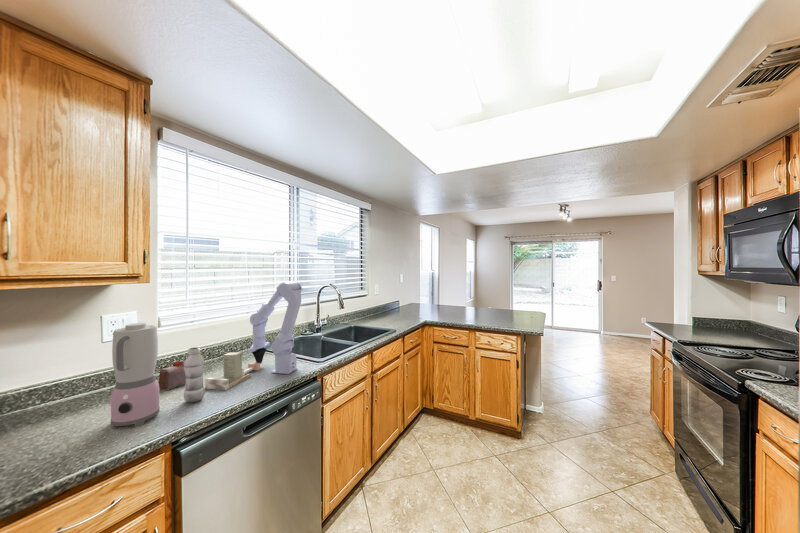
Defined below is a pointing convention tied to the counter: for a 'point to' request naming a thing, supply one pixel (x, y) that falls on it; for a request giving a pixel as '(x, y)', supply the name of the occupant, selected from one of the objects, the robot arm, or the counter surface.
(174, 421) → the counter surface
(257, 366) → the peach and white mallet
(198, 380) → the plastic bottle
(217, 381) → the channel
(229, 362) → the skincare box
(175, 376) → the food item
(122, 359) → the blender
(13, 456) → the counter surface
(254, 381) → the counter surface
